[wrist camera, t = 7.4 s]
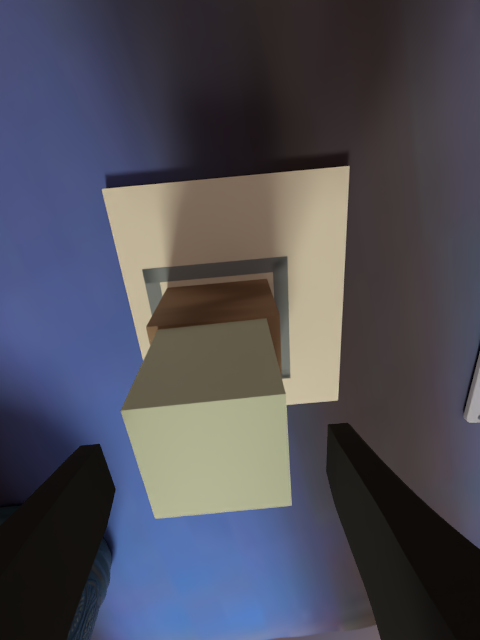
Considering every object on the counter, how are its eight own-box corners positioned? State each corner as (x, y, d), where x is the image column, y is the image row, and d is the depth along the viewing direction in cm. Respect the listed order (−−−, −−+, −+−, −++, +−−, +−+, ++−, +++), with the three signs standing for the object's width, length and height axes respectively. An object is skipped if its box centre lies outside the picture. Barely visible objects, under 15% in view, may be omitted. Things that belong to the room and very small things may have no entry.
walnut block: (267, 278, 18) (279, 315, 13) (271, 364, 20) (283, 420, 16) (167, 287, 18) (146, 327, 13) (182, 371, 20) (169, 430, 16)
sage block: (266, 318, 13) (285, 394, 9) (273, 405, 15) (291, 505, 11) (157, 329, 13) (120, 410, 9) (177, 415, 15) (155, 518, 11)
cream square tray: (345, 166, 16) (349, 166, 16) (335, 394, 22) (338, 400, 21) (105, 188, 16) (101, 189, 16) (158, 410, 22) (156, 416, 21)
